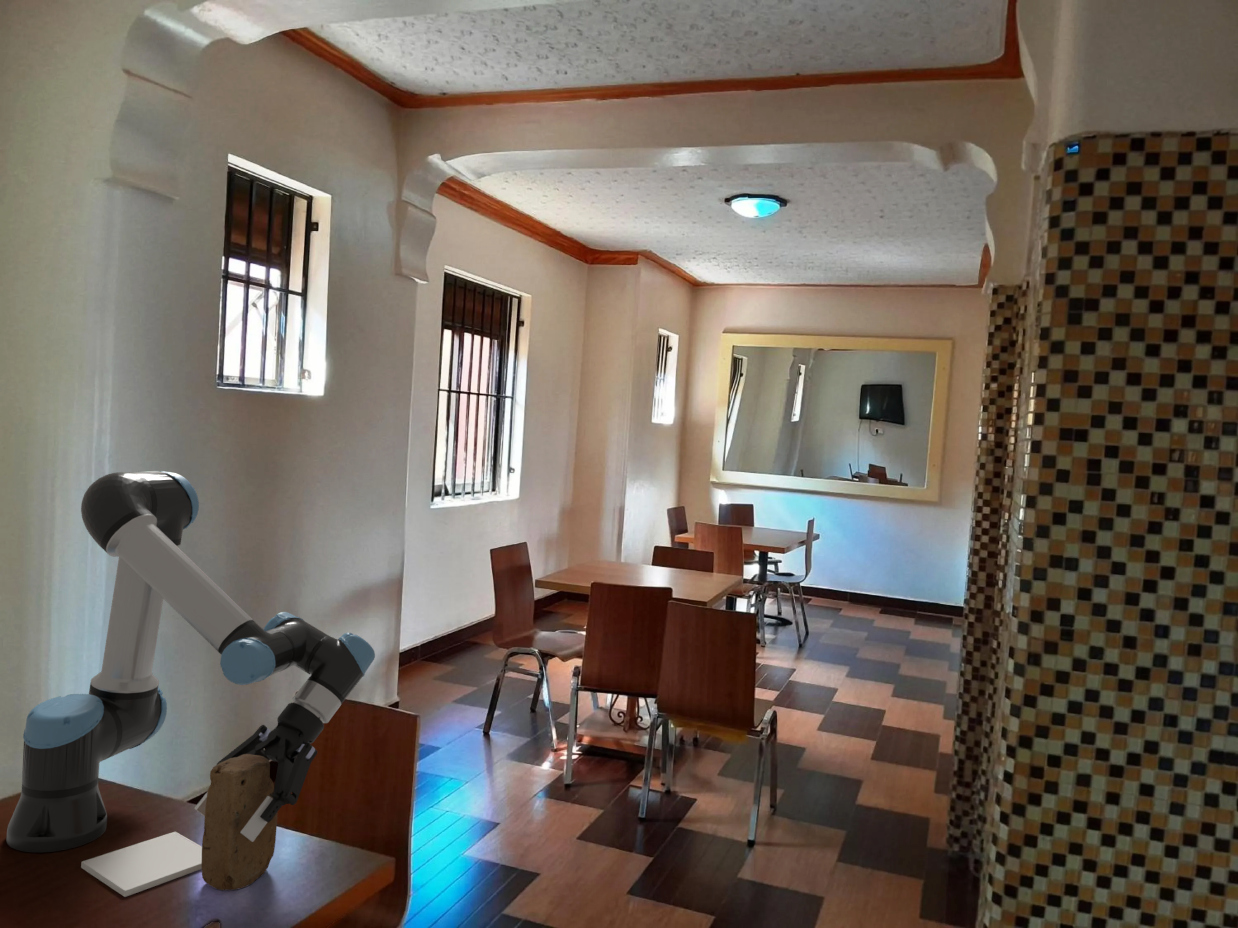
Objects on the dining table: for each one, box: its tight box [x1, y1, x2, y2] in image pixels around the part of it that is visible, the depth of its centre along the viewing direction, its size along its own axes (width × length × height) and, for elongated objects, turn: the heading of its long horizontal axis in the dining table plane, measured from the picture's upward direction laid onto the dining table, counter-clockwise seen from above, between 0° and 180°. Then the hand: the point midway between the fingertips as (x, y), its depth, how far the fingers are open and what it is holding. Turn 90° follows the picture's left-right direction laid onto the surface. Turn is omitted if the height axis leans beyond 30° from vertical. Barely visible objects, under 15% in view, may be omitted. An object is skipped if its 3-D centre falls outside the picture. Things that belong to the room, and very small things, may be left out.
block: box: [201, 754, 279, 891], centre depth 151 cm, size 11×8×20 cm
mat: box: [80, 831, 202, 898], centre depth 153 cm, size 14×16×1 cm
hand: (222, 824), depth 148 cm, fingers open, 12 cm apart
